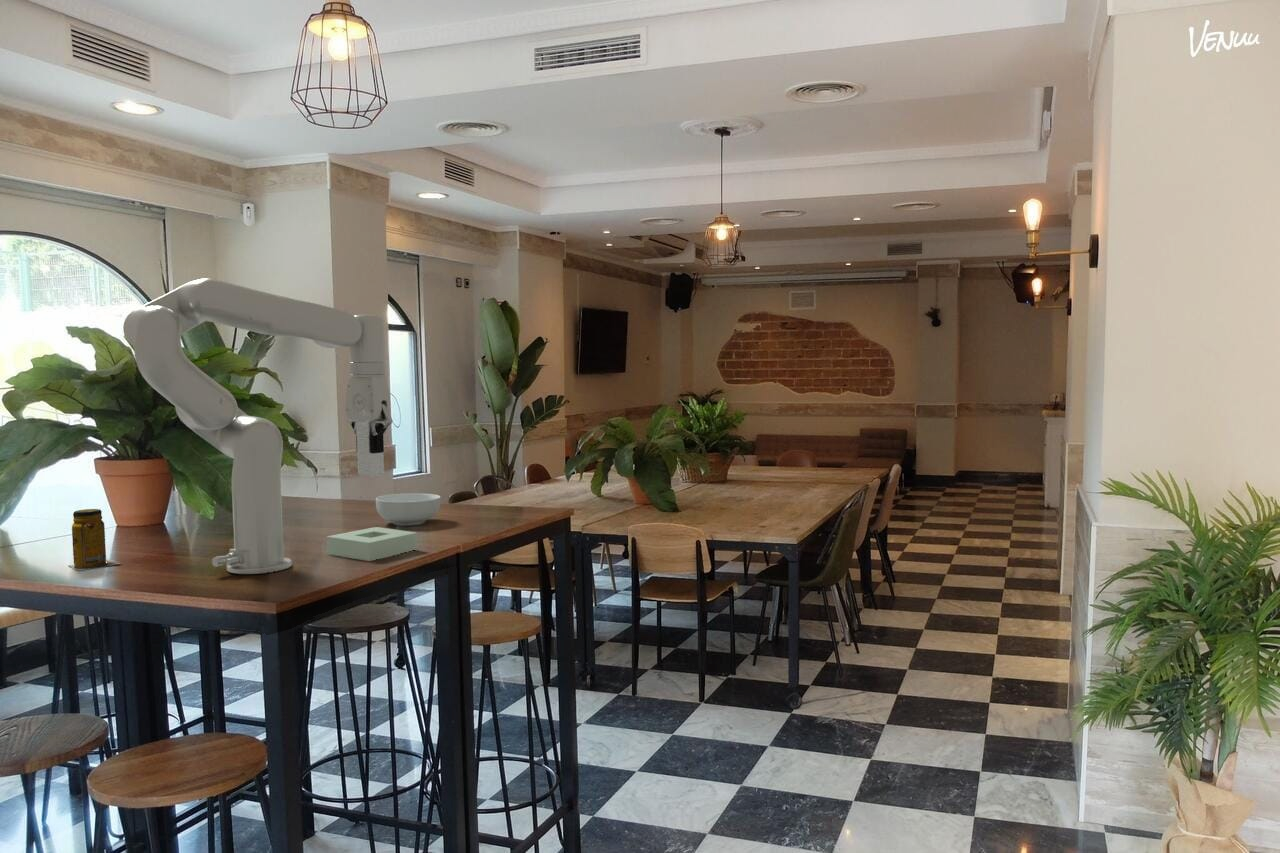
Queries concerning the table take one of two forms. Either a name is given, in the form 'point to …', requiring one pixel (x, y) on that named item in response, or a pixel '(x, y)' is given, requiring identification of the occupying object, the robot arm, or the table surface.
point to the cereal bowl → (408, 507)
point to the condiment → (89, 540)
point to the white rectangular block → (368, 452)
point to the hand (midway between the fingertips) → (370, 451)
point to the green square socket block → (371, 543)
